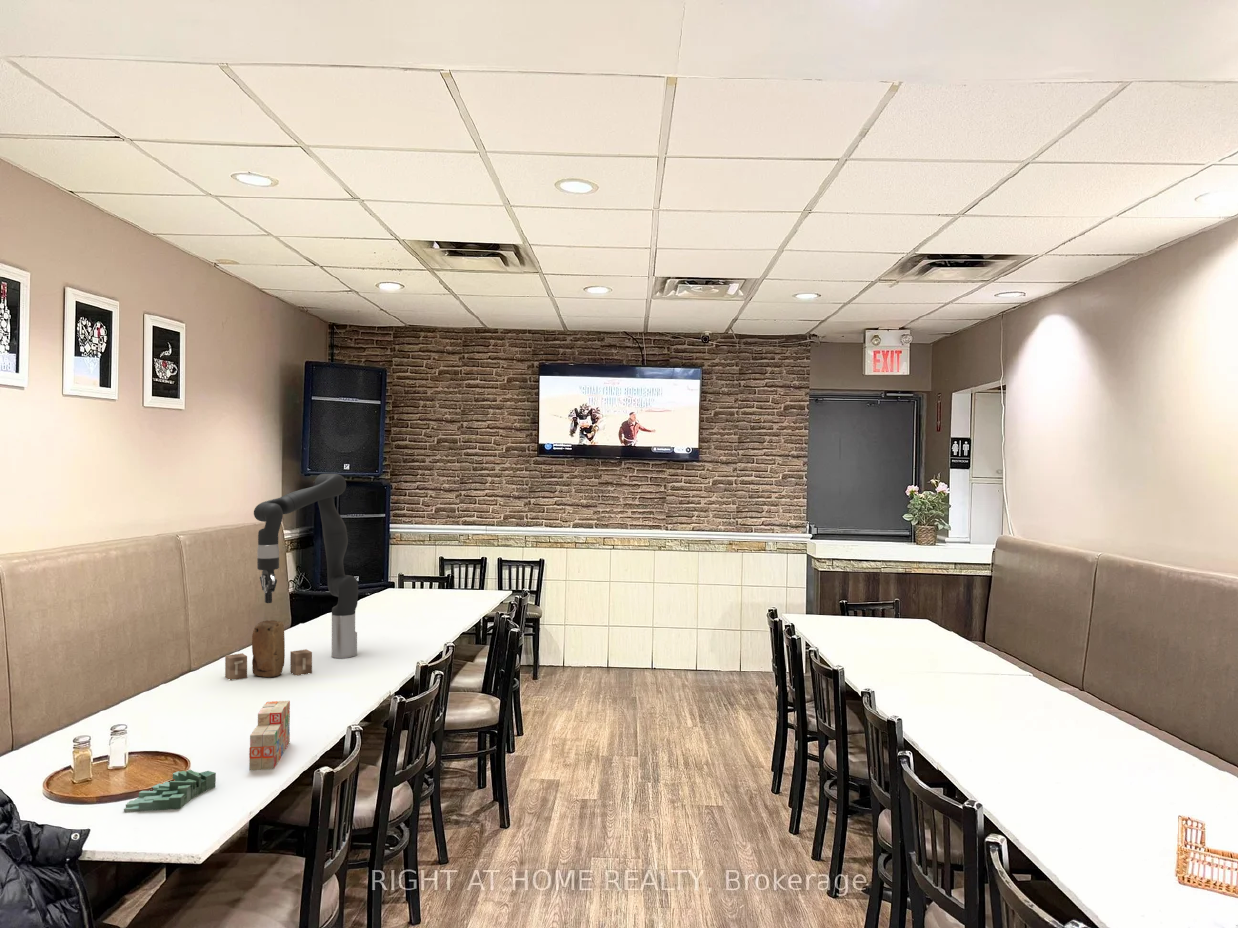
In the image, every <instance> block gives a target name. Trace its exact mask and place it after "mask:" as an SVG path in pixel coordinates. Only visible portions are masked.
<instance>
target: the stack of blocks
mask: <svg viewBox="0 0 1238 928" xmlns="http://www.w3.org/2000/svg"><path fill="white" fill-rule="evenodd" d="M290 703H291V701H290V700H279V701H277V700H276V701H267V702H266V703H264V704H263V706H262V707H261V708H260V710H259V712H258V713H257V725H256V727H255V728H254V729H253V730H252V732H251V734H250V735H249V751H248V752H249V754H248V755H249V758H248V759H249V760H248V761H249V771H261V770H262V771H263V770H264V771H265V770H274V769H275V768H276V766H277V765H278V763H279V761H280V759H281V758H282V756H283V754H284V753H285V751H286V750H287V748H288V746H289V745H288V744H290V743H291V741H290V739H291V738H290V737H291V734H290V733H291V732H290V731H291V730H290V725H291V724H290V723H291V720H290V719H291V711H290V710H291V709H290V708H291V707H290V706H291V704H290ZM289 742H290V743H289ZM287 745H288V746H287ZM286 747H287V748H286ZM285 749H286V750H285ZM284 750H285V751H284Z"/></svg>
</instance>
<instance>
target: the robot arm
mask: <svg viewBox="0 0 1238 928" xmlns="http://www.w3.org/2000/svg"><path fill="white" fill-rule="evenodd" d="M346 487H347V481H346V479H345V477H344V476H343V475H341V474H337V473H321V474H318V476H317V477H316V478H315V480H314V485H313V486H311V487H307V488H301V489H299V490H294V491H292V492H290V493H287V494H284V495H282V496H280V497H277V498H273V499H268V500H266V501H263V502H260V503H259V504H257V505H256V506H255V508H254V510H253V516H254V518H255V519H256V520H257V521H258V522H264V523H265V525H264V527H263V528H261V529H259V530H258V534H257V553H256V554H257V556H256V557H257V565H256V567H257V570H258V571H261V575H260V576H259V579H260V585H261V590H262V591H263V594H264V603H265V604H272V602H273V593H274V592H275V591H276V586H277V583H278V580H277V579H278V578H276V574H275V570H279V568H280V547H279V532H280V529H281V526H282V522H283V517H284V515H288V514H291V513H293V512H295V511H298V510H300V509H302V508H305V507H306V506H307V507H308V506H309V505H311V504H315V503H316V502H317V505H318V509H319V513H320V514H319V515H320V520H321V521H320V522H321V525H322V526H321V527H322V537H323V543H324V549H325V557H326V558H325V559H326V568H327V570H326V571H327V572H326V573H327V576H326V577H327V588H328V592H329V593H330V595H332V596H333V597H337V598H338V599H337V604H336V605H335V606H333V607H332V608H331V658H334V659H335V658H336V659H347V658H348V659H349V658H352V657H355V656H358V632H357V631H356V610H357V607H358V601H359V600H358V599H359V583H358V580H357V578H356V577H355V576H353V575H348V574H345V573H346V572H345V569H344V568H345V567H344V559H345V558H344V557H345V554H346V552H347V548H348V543H349V539H348V532H347V531H348V530H347V525H346V524H345V522H344V520H343V518H342V517H341V515H340V513H339V512H338V510H337V508H336V505H335V500H334V497H338V496H340V495H341V496H342V494H343V493H344V492H345V491H346Z"/></svg>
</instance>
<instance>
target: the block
mask: <svg viewBox="0 0 1238 928" xmlns="http://www.w3.org/2000/svg"><path fill="white" fill-rule="evenodd" d="M284 625H285V624H284V622H283V621H280V620H279V621H277V620H273V619H271V620H263V621H260V622H259V623H257V624H255V627H254V628H253V630H252V631H253V632H252V634H251V649H252V650H251V651H252V660H251V663H252V664H251V665H252V674H253V675H254V676H258V677H264V678H274V677H278V676H280V675H281V674H282V672H283V670H284V666H285V656H286V655H285V653H286V652H285V650H286V649H285V648H286V647H285V646H286V644H285V641H286V640H285V639H286V638H285V626H284Z"/></svg>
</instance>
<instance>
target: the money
mask: <svg viewBox="0 0 1238 928" xmlns="http://www.w3.org/2000/svg"><path fill="white" fill-rule="evenodd" d="M216 775H217V772H214V771H210V770H206V771H201V772H198V771H194V770H192V769H188V770H186V771H185V770H181V771H175V772H173V773H172V779H175V781H170V780H169V781H170V782H167V781H164V782H162V783H163V784H160V783H161V782H159V783H158V784H154V785H152V786H151V789H152V788H153V789H154V790H153V791H150V790H141V791H139V792H138V797H136V798H134V800H133V799H132V800H129V801H128V802H127V803H126V804H125V807H124V808H123V811H124V813H134V812H135V813H136V812H141V811H142V812H143V811H145V812H149V811H166V810H181V809H182V808H183V807H184V806H185V804H187V803H188V802H189V801H191V800H192V799H194V798H195V797H197V796H199V795H201V794H203V793H205V792H207V791H210V790H211V789H214V788H216V783H217V782H216V780H217V778H216V777H217V776H216Z"/></svg>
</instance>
